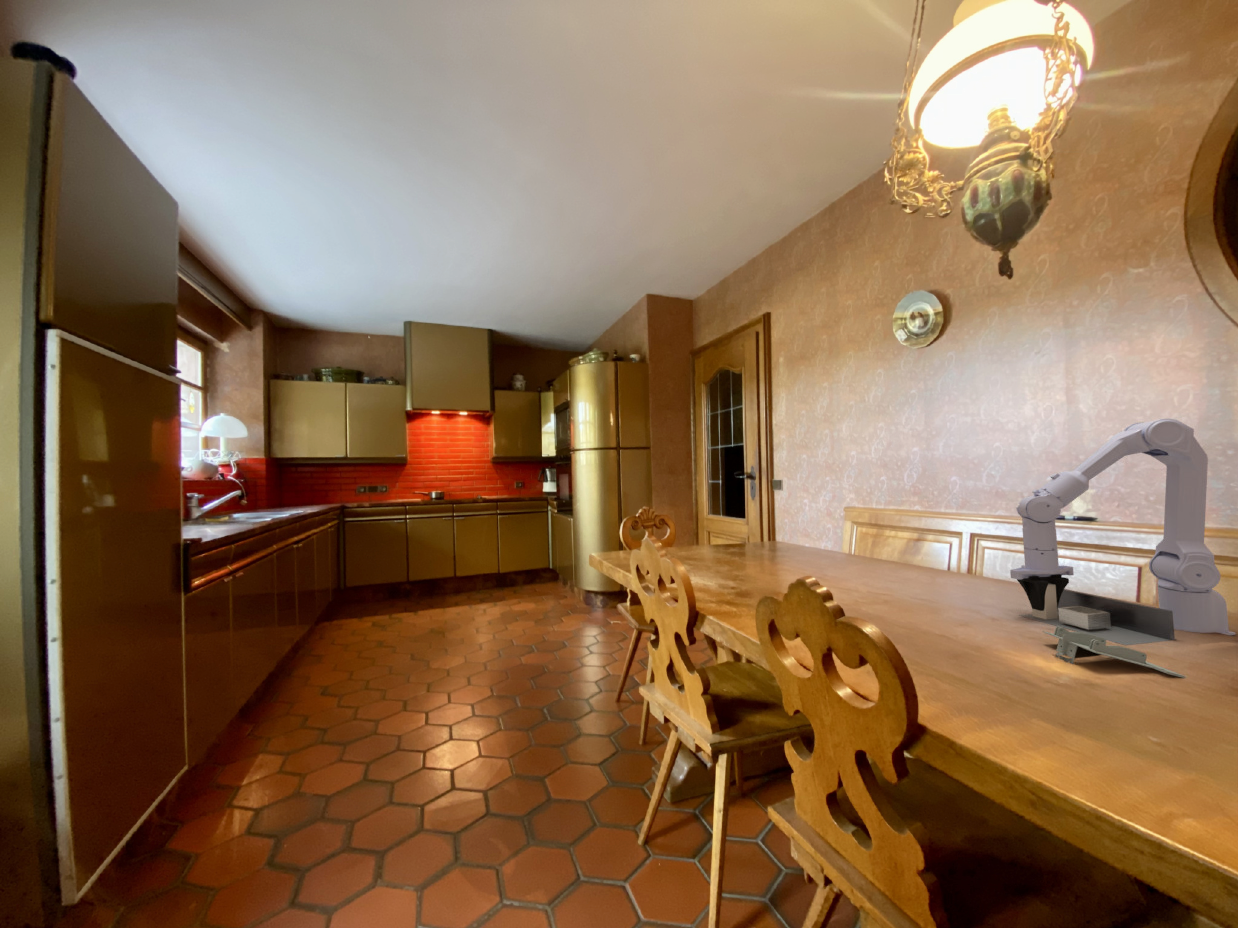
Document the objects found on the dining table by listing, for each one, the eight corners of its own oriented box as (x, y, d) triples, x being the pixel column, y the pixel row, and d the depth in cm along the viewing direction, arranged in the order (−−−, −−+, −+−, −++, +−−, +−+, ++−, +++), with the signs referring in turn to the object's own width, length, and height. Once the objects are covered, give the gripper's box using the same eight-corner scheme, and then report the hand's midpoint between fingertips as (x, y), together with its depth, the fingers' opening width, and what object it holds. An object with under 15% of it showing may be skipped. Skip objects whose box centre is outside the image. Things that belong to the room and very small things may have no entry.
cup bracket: (1060, 611, 109) (1059, 587, 109) (1174, 639, 89) (1172, 610, 89) (1025, 614, 107) (1023, 590, 107) (1133, 644, 87) (1130, 614, 88)
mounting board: (1063, 615, 109) (1062, 611, 109) (1177, 644, 89) (1176, 639, 89) (1019, 619, 107) (1018, 615, 107) (1125, 650, 87) (1125, 645, 87)
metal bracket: (1103, 644, 77) (1031, 617, 92) (1094, 678, 77) (1024, 645, 92) (1197, 668, 75) (1108, 637, 90) (1188, 703, 75) (1101, 666, 90)
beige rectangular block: (1043, 614, 107) (1041, 581, 107) (1057, 618, 104) (1055, 584, 104) (1032, 615, 106) (1030, 582, 107) (1046, 619, 103) (1044, 585, 104)
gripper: (1048, 544, 111) (1052, 602, 110) (996, 548, 109) (999, 606, 108) (1082, 548, 104) (1086, 610, 103) (1026, 552, 102) (1031, 615, 101)
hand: (1044, 608), depth 105 cm, fingers closed on beige rectangular block, 3 cm apart
